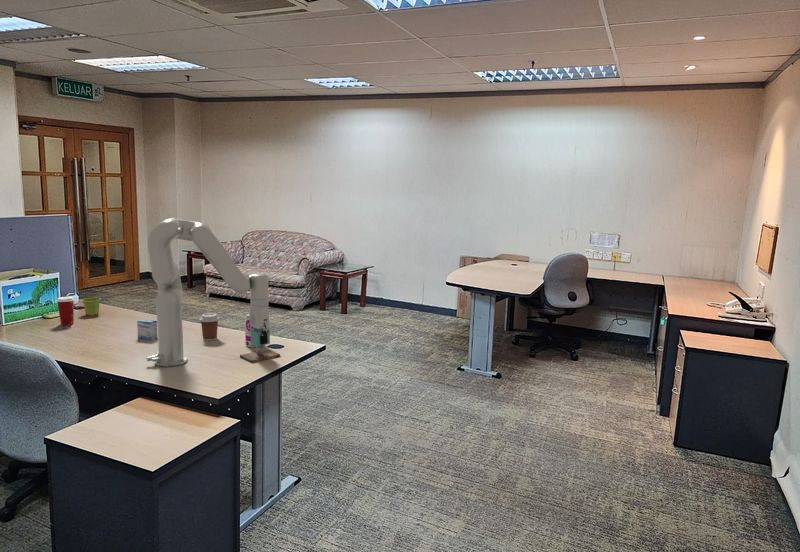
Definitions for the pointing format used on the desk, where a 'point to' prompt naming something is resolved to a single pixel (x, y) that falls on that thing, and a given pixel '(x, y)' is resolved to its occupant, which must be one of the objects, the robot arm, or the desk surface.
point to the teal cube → (258, 337)
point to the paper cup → (66, 310)
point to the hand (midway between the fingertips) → (260, 341)
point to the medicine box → (147, 329)
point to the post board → (259, 355)
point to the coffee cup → (209, 326)
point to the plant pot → (91, 305)
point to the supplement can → (248, 332)
